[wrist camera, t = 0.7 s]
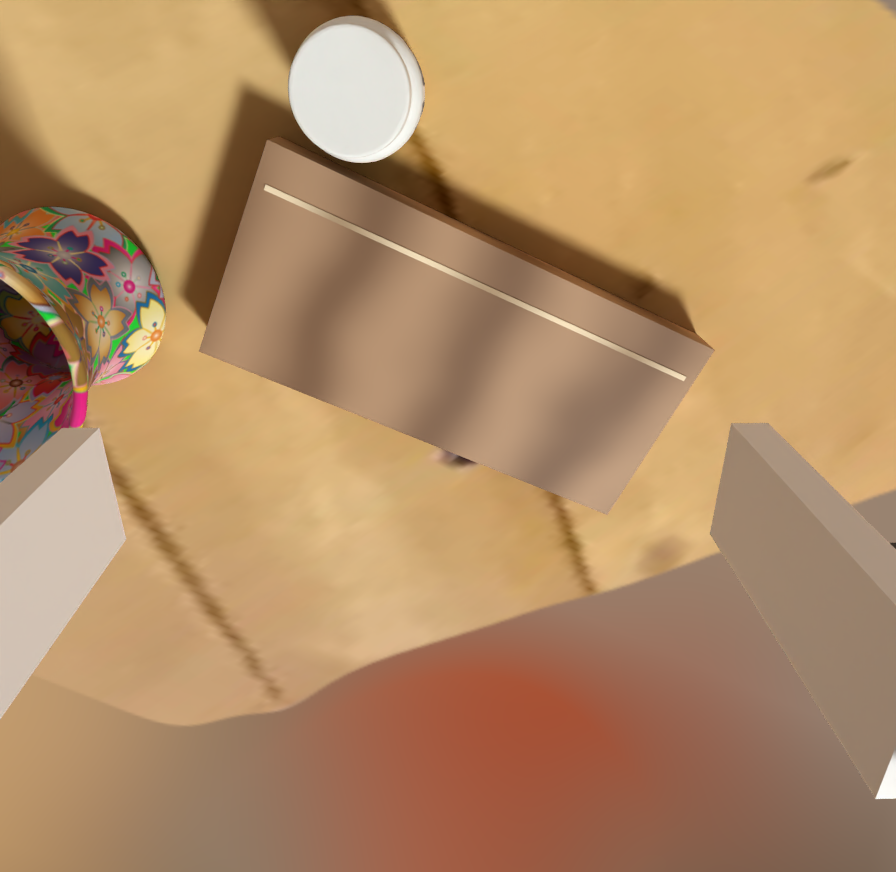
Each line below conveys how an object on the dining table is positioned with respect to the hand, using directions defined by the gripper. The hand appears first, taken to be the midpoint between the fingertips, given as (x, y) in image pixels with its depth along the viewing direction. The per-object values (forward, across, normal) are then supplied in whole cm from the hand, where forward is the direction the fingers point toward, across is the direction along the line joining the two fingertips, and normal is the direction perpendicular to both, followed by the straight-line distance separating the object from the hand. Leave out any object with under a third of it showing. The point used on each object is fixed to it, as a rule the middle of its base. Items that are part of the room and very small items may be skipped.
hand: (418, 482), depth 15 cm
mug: (+21, -17, -3) cm, 27 cm away
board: (+21, +1, -3) cm, 21 cm away
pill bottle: (+21, -2, +8) cm, 22 cm away
